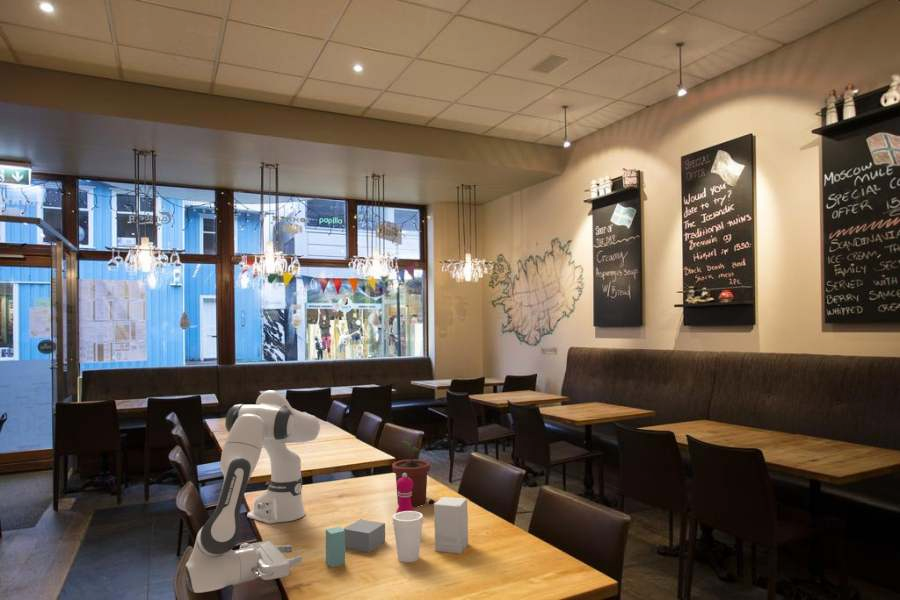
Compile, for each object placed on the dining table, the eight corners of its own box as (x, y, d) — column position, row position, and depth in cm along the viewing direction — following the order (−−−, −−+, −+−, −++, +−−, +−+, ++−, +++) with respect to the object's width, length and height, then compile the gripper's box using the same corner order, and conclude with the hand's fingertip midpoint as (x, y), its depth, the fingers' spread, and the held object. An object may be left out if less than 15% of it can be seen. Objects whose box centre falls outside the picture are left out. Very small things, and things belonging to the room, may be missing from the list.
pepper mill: (412, 534, 195) (411, 476, 196) (392, 532, 197) (392, 475, 198) (417, 526, 202) (417, 470, 203) (398, 525, 204) (398, 470, 205)
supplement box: (469, 543, 186) (468, 498, 187) (460, 554, 177) (460, 506, 178) (443, 540, 189) (442, 495, 190) (434, 551, 180) (433, 503, 181)
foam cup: (411, 566, 169) (410, 523, 169) (387, 560, 174) (386, 517, 174) (429, 555, 177) (428, 513, 177) (405, 549, 182) (405, 509, 182)
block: (331, 567, 169) (330, 533, 170) (325, 562, 173) (325, 529, 173) (345, 563, 172) (344, 530, 172) (339, 558, 175) (339, 526, 176)
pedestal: (343, 547, 184) (343, 528, 185) (360, 536, 193) (360, 519, 194) (368, 552, 180) (368, 533, 180) (385, 541, 189) (385, 523, 189)
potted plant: (381, 503, 230) (381, 441, 231) (419, 491, 246) (418, 433, 248) (412, 512, 218) (411, 447, 220) (449, 499, 235) (448, 438, 236)
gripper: (257, 566, 150) (307, 554, 157) (240, 542, 167) (286, 532, 175) (257, 590, 150) (307, 577, 157) (240, 563, 167) (286, 552, 174)
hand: (296, 553), depth 166 cm, fingers open, 8 cm apart
